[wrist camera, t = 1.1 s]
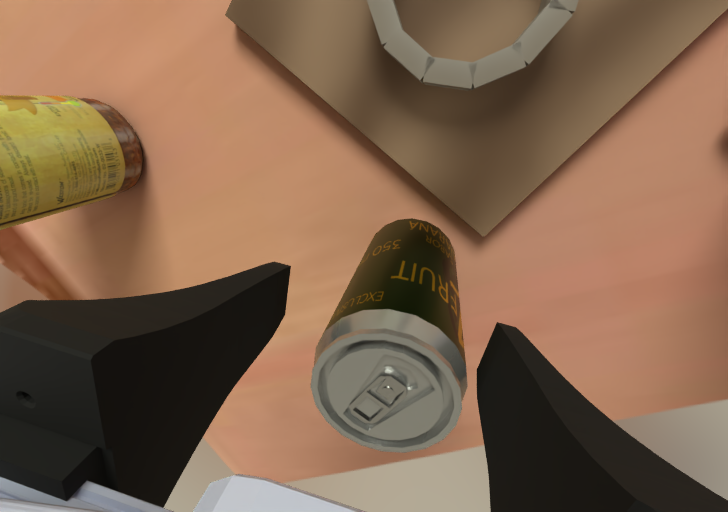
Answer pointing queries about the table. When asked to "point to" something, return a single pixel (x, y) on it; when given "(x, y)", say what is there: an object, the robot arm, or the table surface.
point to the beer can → (395, 344)
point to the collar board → (491, 119)
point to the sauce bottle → (62, 155)
